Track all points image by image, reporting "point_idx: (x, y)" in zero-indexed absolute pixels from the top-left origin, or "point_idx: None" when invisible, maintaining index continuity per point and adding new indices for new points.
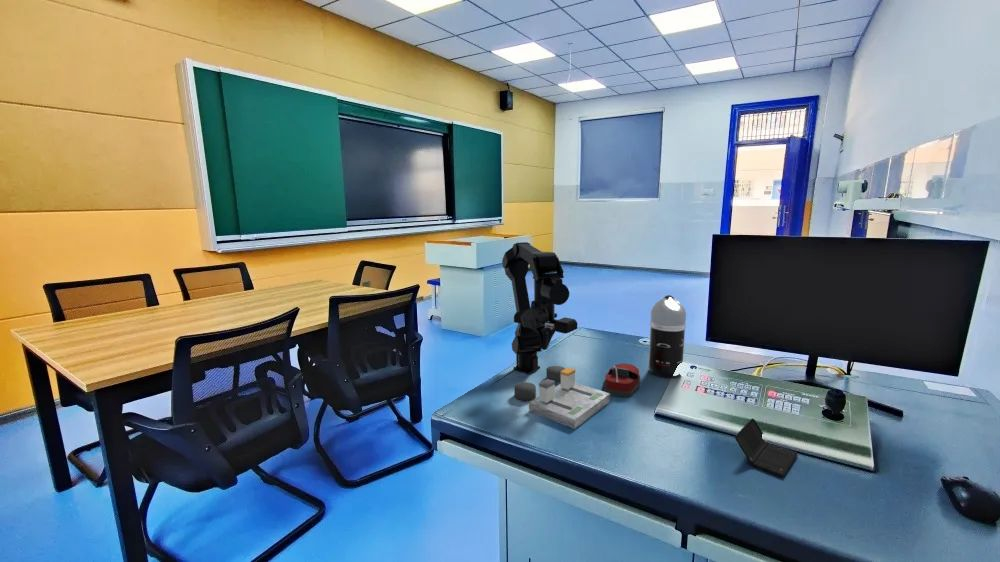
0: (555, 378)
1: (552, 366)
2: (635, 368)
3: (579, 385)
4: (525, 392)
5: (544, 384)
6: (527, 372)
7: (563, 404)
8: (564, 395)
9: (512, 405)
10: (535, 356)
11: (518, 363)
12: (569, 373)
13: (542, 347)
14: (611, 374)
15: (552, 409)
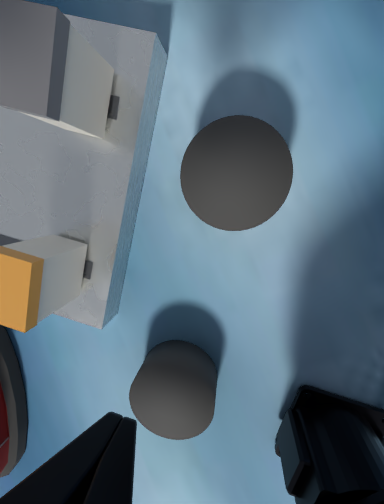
0: (164, 351)
1: (198, 431)
2: None
3: None
4: (211, 124)
5: (17, 8)
6: (308, 389)
7: None
8: (49, 185)
9: (255, 71)
10: (299, 491)
11: (377, 439)
12: None
13: (124, 434)
14: (5, 432)
15: None
